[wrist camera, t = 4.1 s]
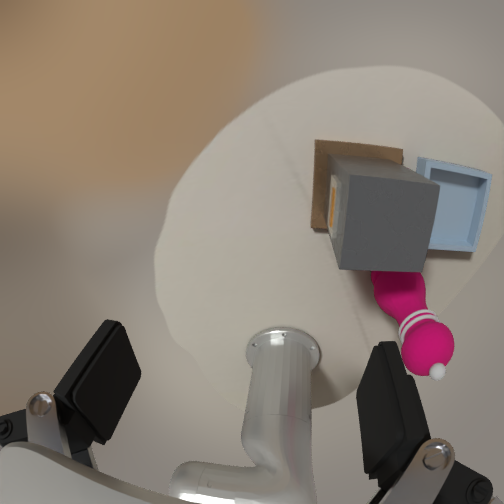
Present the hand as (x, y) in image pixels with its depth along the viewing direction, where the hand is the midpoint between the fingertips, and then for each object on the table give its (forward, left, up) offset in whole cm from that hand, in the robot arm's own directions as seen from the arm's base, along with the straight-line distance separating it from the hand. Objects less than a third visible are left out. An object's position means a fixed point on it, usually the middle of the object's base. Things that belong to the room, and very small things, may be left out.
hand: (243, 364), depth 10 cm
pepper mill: (-12, -17, -28) cm, 35 cm away
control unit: (0, -10, -28) cm, 30 cm away
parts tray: (-1, -24, -28) cm, 37 cm away
